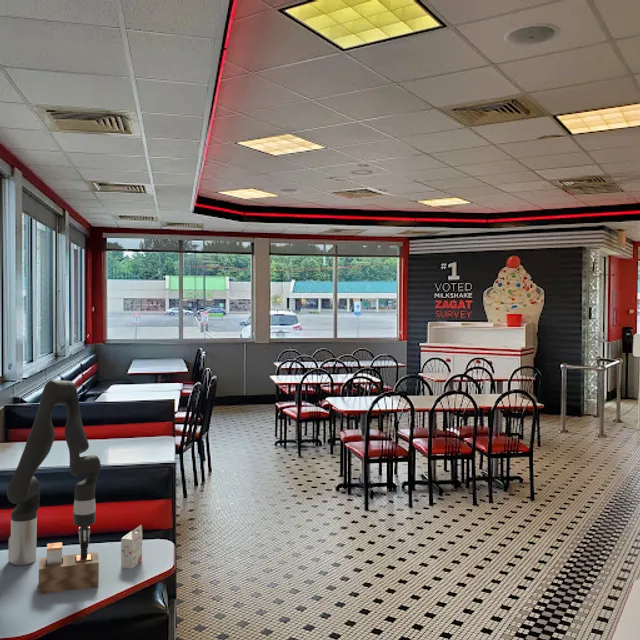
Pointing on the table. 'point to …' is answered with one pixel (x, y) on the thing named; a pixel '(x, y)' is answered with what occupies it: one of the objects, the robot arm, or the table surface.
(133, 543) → the ink cartridge box
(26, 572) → the table surface
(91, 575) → the walnut block
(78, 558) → the peg far
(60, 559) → the peg near
